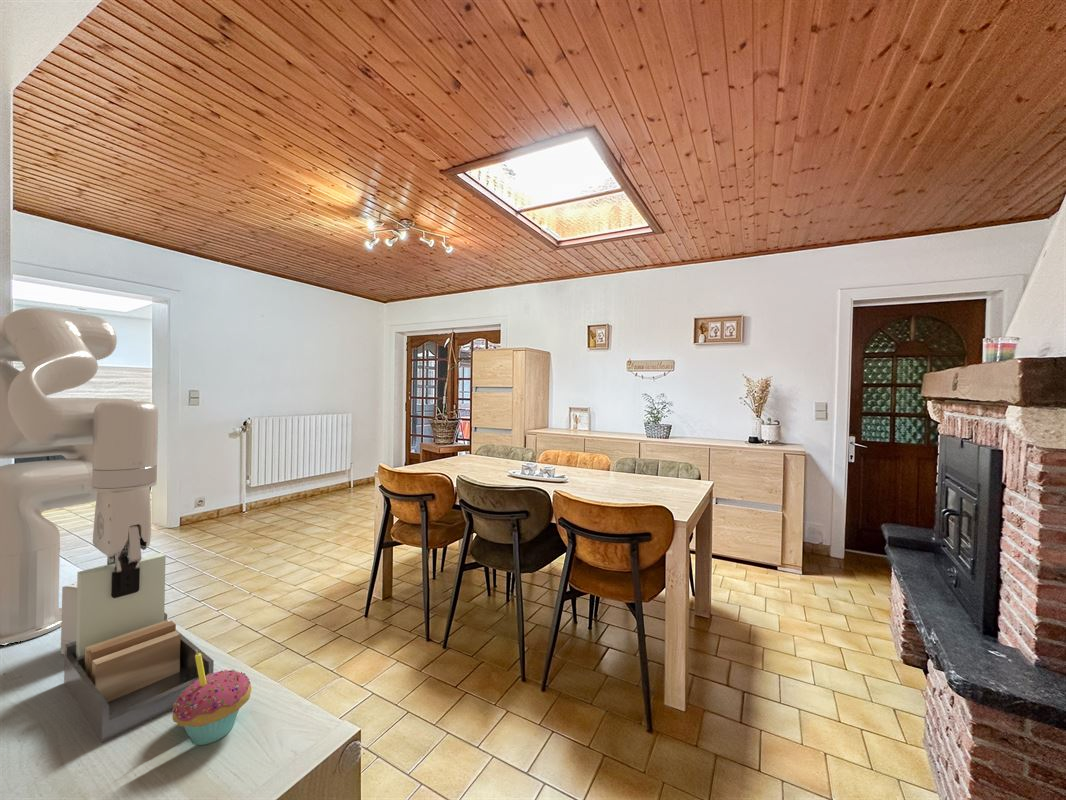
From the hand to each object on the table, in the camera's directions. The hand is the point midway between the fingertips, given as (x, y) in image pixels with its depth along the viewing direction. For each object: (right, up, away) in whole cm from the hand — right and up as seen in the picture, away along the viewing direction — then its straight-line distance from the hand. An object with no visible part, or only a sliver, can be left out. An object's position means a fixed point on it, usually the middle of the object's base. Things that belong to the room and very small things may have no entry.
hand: (122, 591), depth 69 cm
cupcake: (+22, -14, -11) cm, 29 cm away
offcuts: (+5, -12, -3) cm, 14 cm away
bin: (+6, -14, -4) cm, 16 cm away
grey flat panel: (0, -10, 0) cm, 10 cm away
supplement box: (-10, -14, +6) cm, 18 cm away
